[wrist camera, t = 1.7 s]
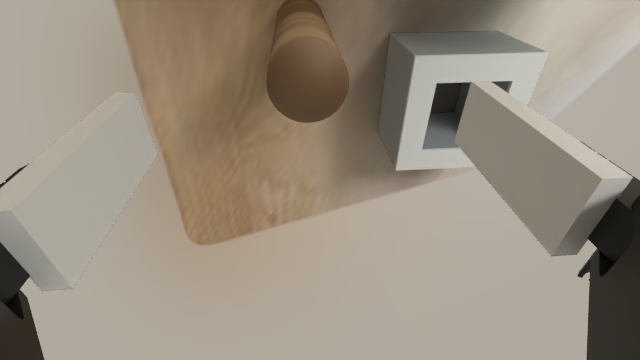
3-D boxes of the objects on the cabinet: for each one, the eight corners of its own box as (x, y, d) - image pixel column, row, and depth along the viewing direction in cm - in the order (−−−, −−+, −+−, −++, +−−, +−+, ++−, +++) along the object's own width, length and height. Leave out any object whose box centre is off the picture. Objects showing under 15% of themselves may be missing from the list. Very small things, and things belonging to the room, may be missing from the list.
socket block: (389, 33, 28) (415, 56, 23) (497, 30, 29) (549, 53, 23) (377, 132, 34) (395, 170, 29) (466, 128, 35) (502, 165, 29)
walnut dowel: (275, -4, 26) (261, 42, 14) (323, -5, 26) (351, 40, 14) (279, 47, 28) (270, 123, 16) (323, 46, 29) (346, 121, 17)
